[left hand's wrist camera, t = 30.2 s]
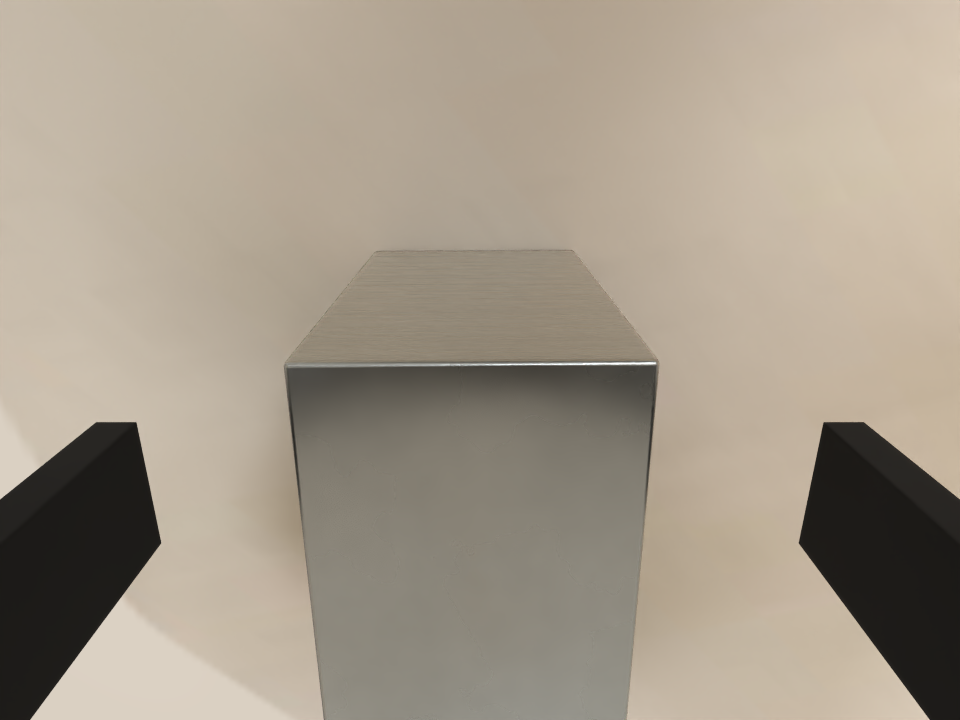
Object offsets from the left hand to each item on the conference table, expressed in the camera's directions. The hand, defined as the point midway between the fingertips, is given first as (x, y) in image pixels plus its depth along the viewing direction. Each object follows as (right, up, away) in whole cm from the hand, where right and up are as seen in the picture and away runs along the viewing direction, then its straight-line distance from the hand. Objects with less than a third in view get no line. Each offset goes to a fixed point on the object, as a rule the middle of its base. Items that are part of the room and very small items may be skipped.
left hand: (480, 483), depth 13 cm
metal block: (0, +2, +7) cm, 7 cm away
